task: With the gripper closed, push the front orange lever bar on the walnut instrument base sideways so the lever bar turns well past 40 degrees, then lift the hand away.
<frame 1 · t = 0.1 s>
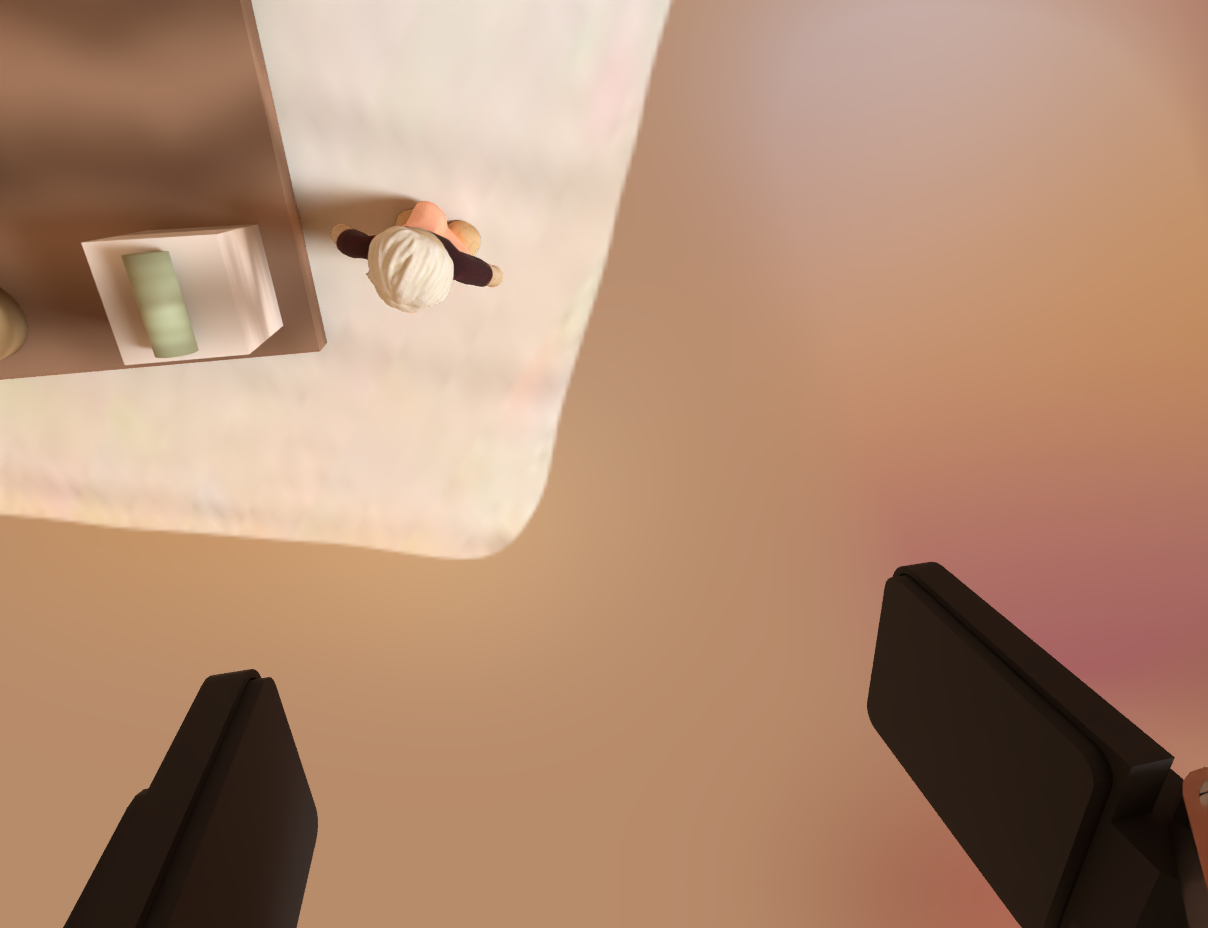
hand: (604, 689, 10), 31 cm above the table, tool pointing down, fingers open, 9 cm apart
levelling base: (83, 153, 31), on the table
grandmother figurine: (426, 238, 36), on the table
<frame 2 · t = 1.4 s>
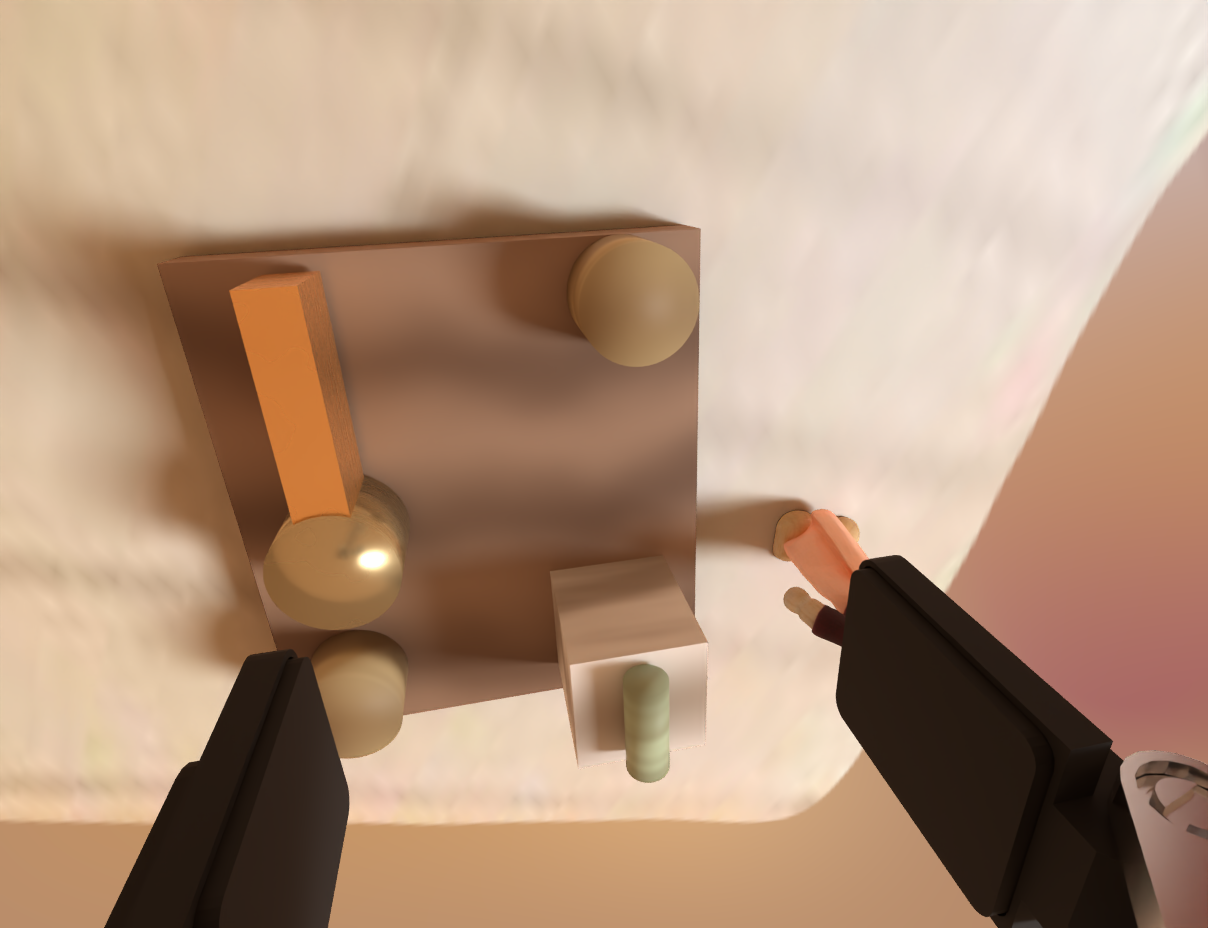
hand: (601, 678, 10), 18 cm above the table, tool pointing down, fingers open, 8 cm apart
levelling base: (480, 485, 28), on the table
orange lever bar: (320, 456, 22), point 4 cm above the table, hinge at 0.0°
grandmother figurine: (802, 533, 33), on the table
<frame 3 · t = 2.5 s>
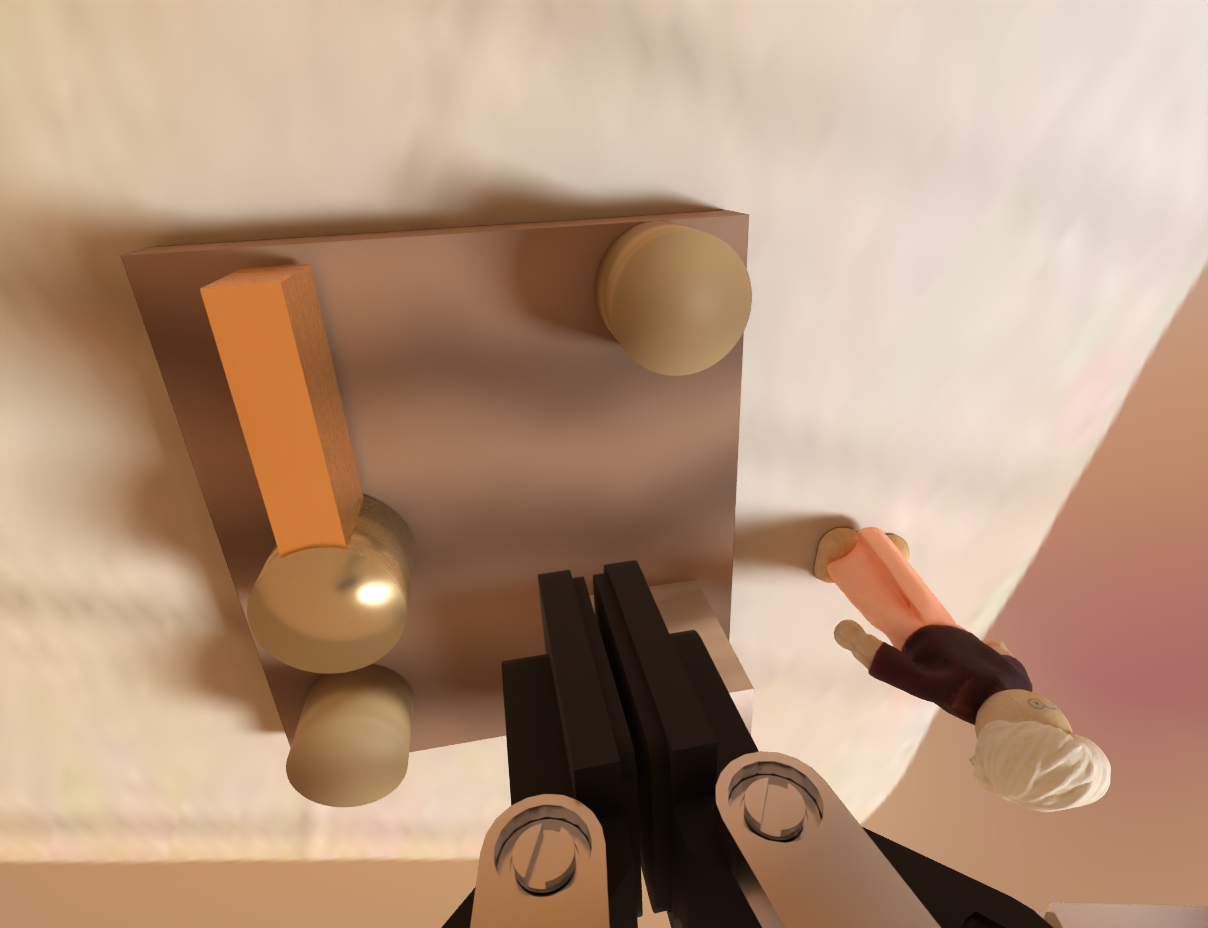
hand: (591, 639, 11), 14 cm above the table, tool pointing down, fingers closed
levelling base: (493, 502, 25), on the table
orange lever bar: (312, 478, 19), point 4 cm above the table, hinge at 0.0°
grandmother figurine: (846, 552, 30), on the table
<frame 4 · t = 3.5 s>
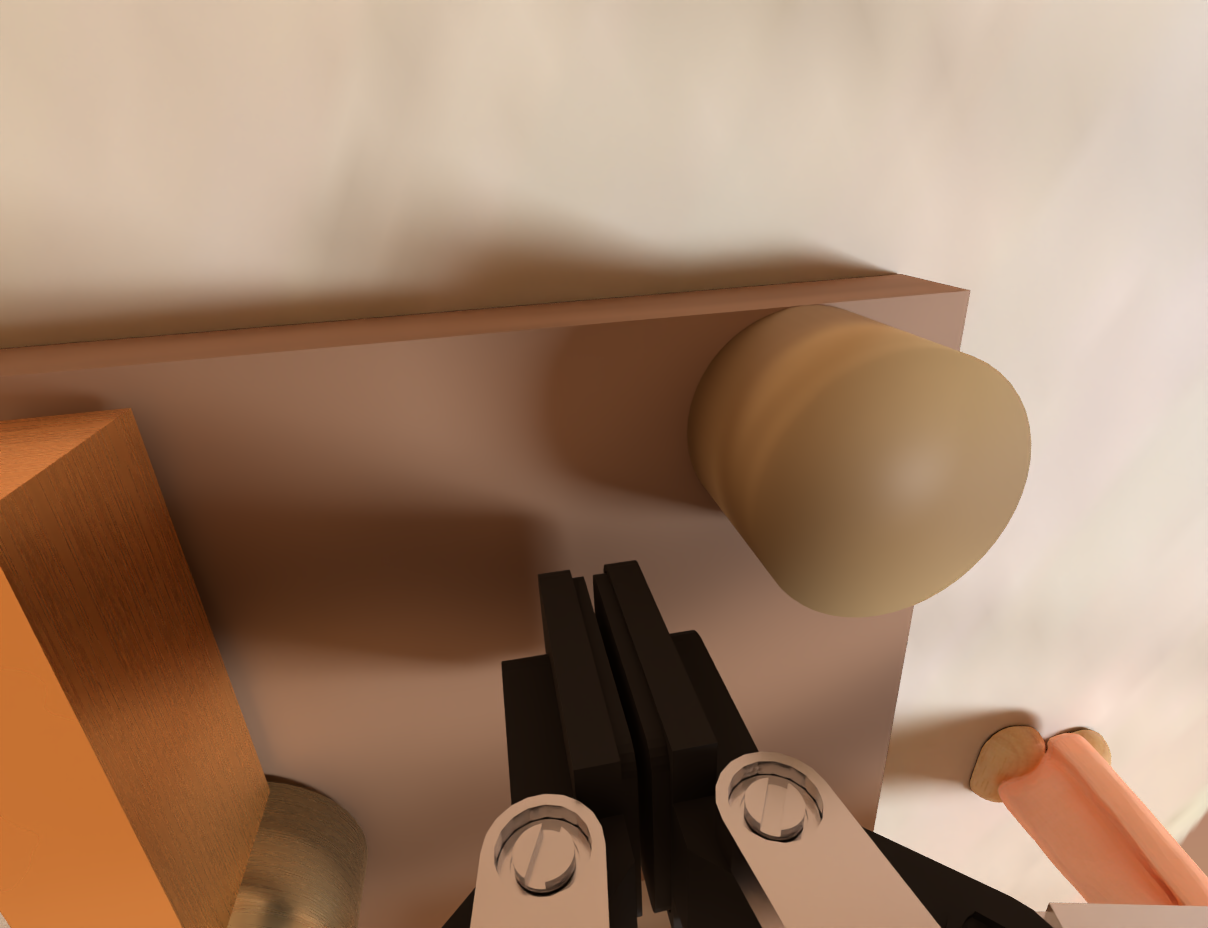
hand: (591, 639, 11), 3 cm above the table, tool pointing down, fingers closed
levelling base: (499, 732, 16), on the table
orange lever bar: (150, 815, 10), point 4 cm above the table, hinge at 0.0°
grandmother figurine: (1015, 753, 20), on the table
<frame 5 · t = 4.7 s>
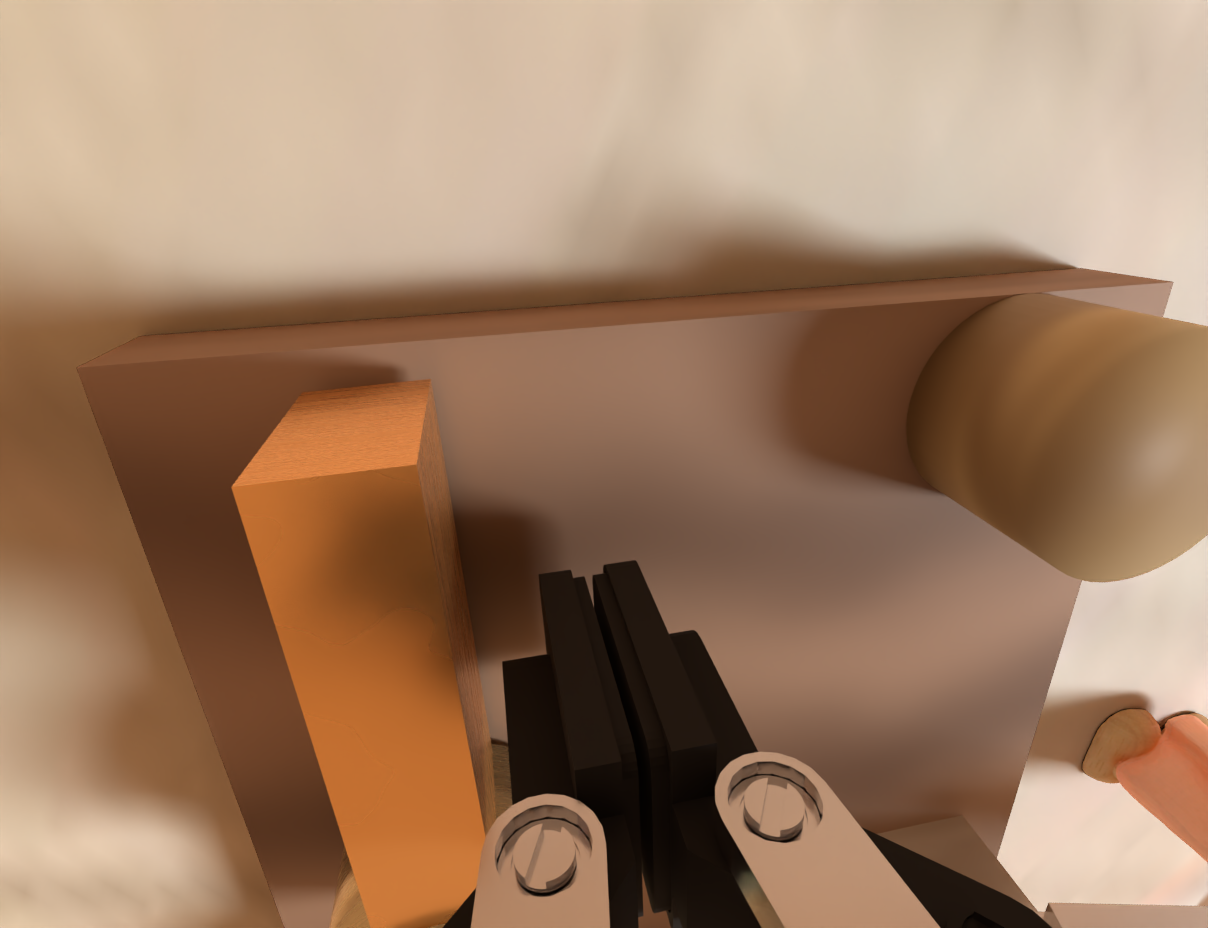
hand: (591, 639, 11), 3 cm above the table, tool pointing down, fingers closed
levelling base: (664, 705, 16), on the table
orange lever bar: (427, 765, 11), point 4 cm above the table, hinge at 1.0°, touching gripper
grandmother figurine: (1125, 736, 21), on the table
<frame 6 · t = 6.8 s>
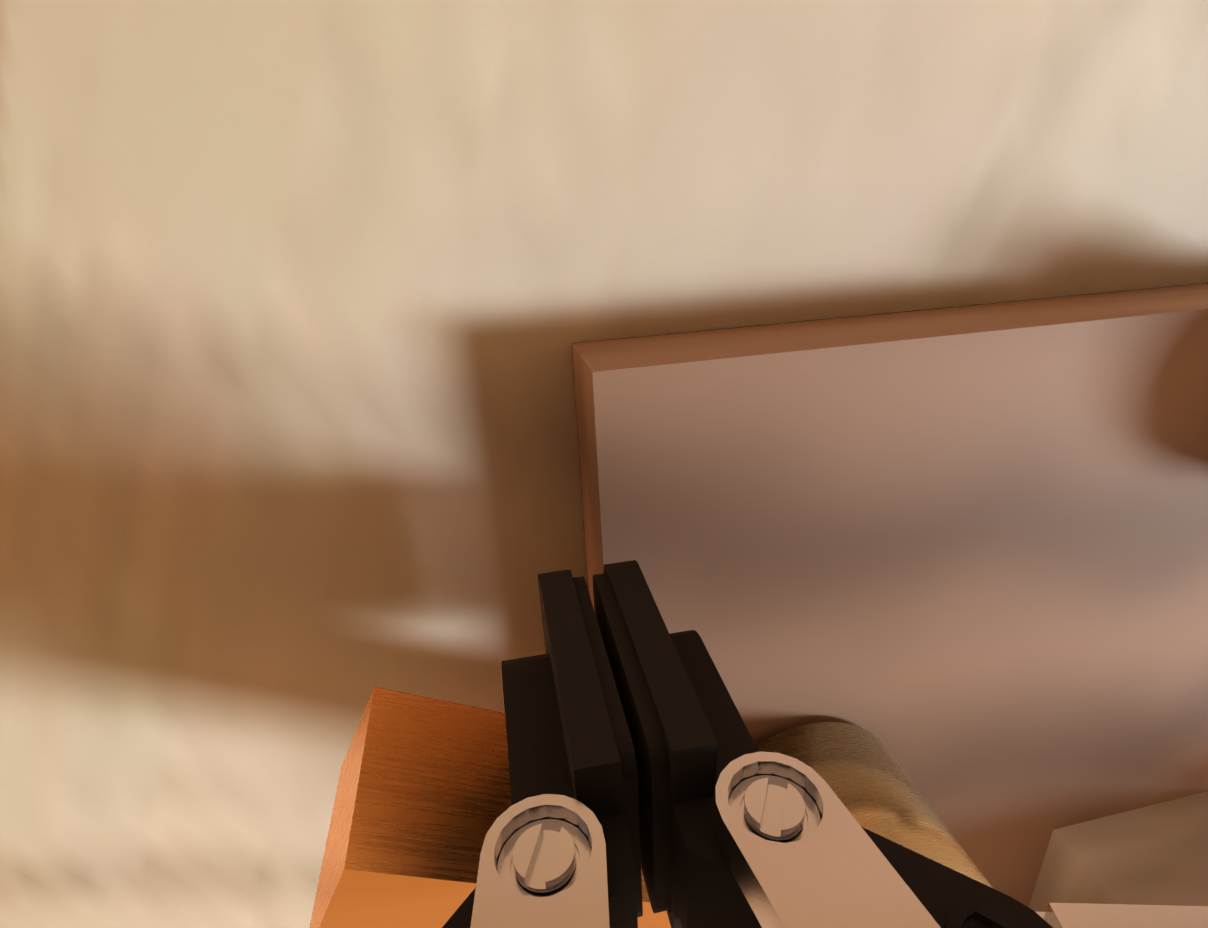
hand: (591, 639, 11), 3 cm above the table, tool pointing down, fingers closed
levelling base: (937, 689, 17), on the table
orange lever bar: (682, 856, 12), point 4 cm above the table, hinge at 62.4°, touching gripper
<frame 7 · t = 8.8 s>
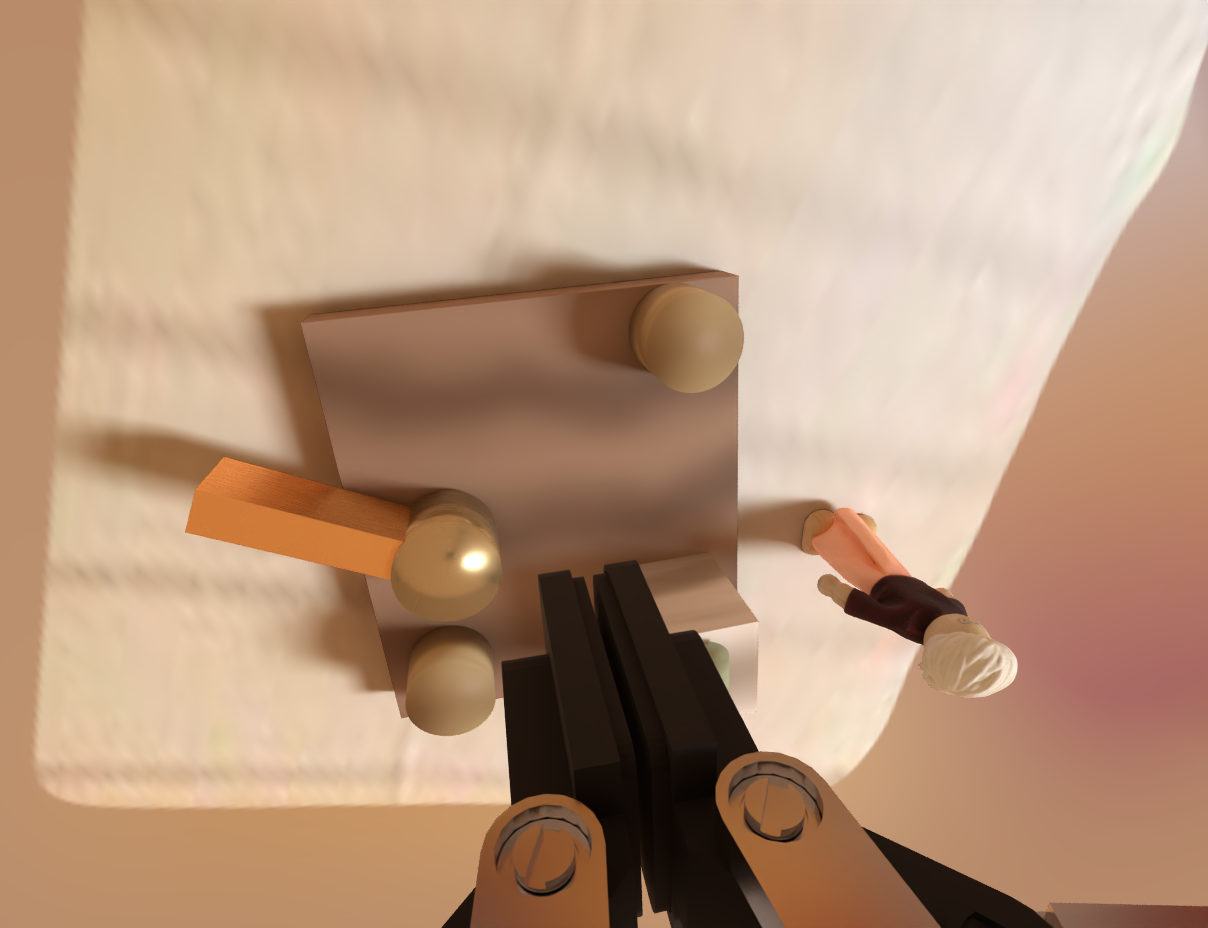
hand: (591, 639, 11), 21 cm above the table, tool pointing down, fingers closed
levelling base: (550, 497, 33), on the table
orange lever bar: (361, 532, 27), point 4 cm above the table, hinge at 62.6°
grandmother figurine: (826, 530, 37), on the table
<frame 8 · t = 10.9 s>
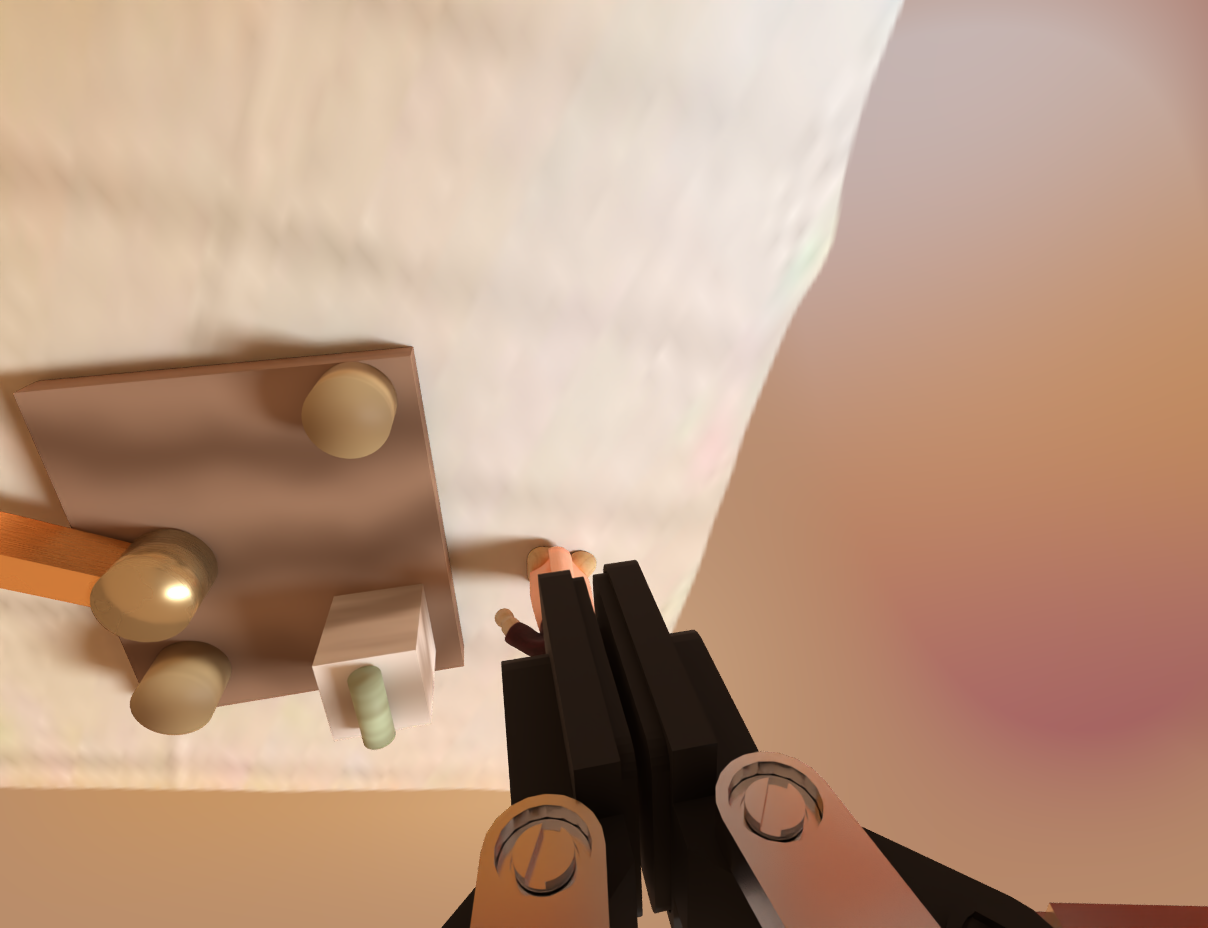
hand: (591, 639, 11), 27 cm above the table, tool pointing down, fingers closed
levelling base: (281, 532, 38), on the table
orange lever bar: (75, 565, 32), point 4 cm above the table, hinge at 62.6°
grandmother figurine: (551, 563, 42), on the table
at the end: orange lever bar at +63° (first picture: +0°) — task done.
